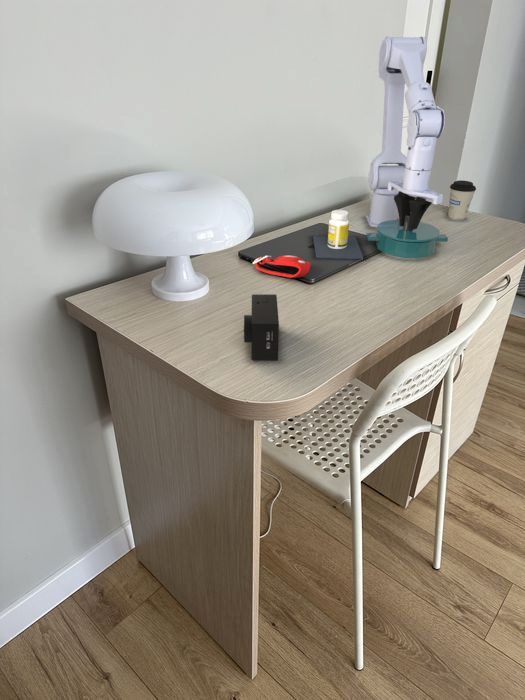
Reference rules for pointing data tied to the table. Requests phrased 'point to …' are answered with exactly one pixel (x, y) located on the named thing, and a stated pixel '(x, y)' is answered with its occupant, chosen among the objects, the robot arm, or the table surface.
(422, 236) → the pot lid
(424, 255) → the pot
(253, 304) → the digital camera
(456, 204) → the coffee cup
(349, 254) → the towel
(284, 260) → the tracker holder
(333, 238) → the supplement bottle
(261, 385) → the table surface
